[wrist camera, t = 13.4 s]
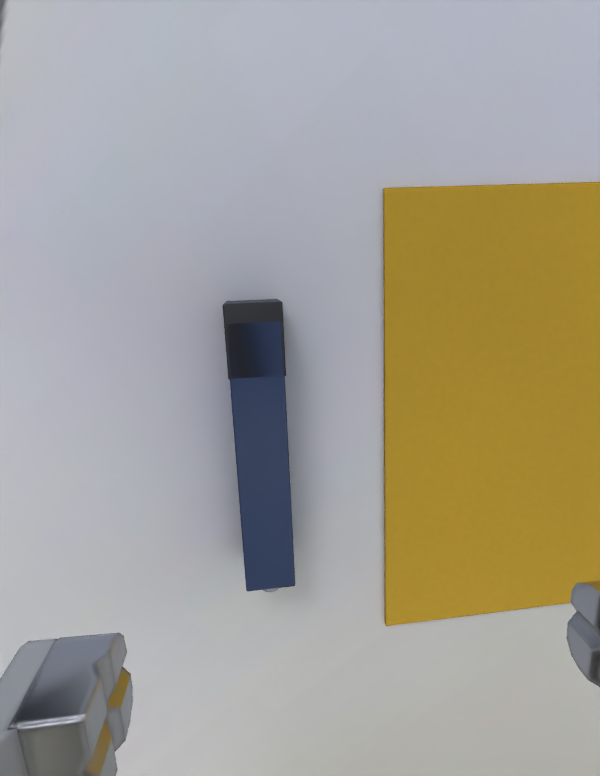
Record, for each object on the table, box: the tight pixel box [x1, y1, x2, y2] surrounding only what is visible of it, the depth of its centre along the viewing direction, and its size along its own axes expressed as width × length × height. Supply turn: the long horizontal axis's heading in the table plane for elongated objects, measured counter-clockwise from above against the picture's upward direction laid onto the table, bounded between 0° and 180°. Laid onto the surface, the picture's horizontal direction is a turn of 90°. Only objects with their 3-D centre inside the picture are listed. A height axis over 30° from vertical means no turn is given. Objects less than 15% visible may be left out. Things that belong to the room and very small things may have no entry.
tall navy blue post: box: [223, 299, 295, 592], centre depth 20 cm, size 14×2×3 cm, turn 2°
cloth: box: [384, 182, 600, 626], centre depth 23 cm, size 22×16×1 cm
